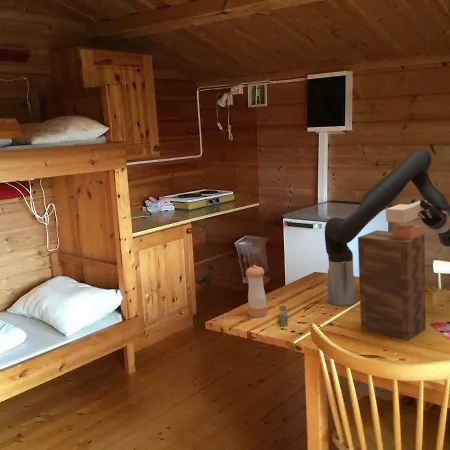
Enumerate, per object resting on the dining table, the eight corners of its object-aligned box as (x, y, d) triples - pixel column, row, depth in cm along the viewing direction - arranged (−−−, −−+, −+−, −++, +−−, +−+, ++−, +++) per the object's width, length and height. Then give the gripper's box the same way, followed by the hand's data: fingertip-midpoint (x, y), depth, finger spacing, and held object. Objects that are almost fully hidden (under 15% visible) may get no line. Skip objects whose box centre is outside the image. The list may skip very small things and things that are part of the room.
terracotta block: (402, 233, 179) (402, 224, 179) (421, 235, 175) (421, 226, 174) (392, 237, 175) (391, 228, 174) (411, 239, 170) (411, 230, 169)
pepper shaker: (244, 315, 207) (240, 266, 204) (256, 309, 213) (253, 261, 209) (259, 318, 202) (255, 269, 199) (271, 312, 208) (268, 264, 204)
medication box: (288, 327, 193) (287, 316, 192) (280, 327, 193) (279, 316, 192) (286, 315, 205) (285, 305, 204) (278, 315, 205) (278, 305, 204)
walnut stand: (379, 318, 193) (376, 230, 187) (425, 328, 181) (424, 234, 175) (361, 329, 185) (357, 237, 179) (408, 340, 173) (406, 242, 167)
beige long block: (415, 210, 185) (415, 198, 185) (432, 211, 181) (432, 199, 181) (386, 221, 172) (385, 209, 171) (404, 222, 168) (403, 210, 167)
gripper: (420, 208, 197) (399, 190, 185) (459, 210, 187) (440, 192, 175) (415, 228, 195) (394, 211, 183) (454, 231, 186) (435, 214, 174)
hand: (416, 202), depth 179 cm, fingers closed on beige long block, 2 cm apart
